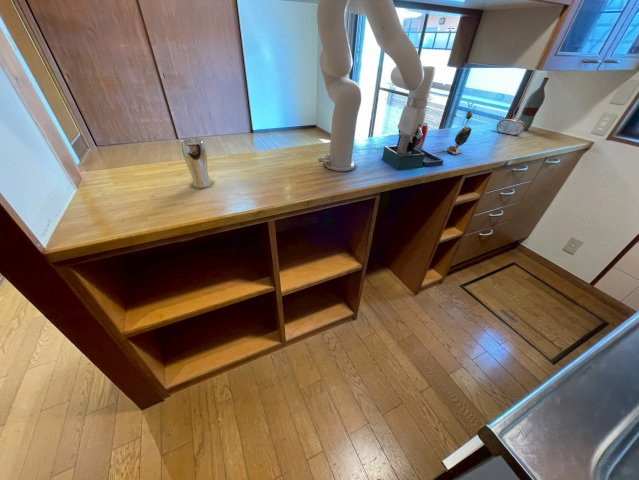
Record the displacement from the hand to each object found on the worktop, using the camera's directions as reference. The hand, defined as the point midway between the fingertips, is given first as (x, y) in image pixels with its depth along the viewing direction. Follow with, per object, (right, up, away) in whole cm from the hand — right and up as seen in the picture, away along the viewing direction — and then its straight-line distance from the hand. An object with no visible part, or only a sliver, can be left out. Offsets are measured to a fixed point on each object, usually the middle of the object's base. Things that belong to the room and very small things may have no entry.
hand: (405, 148), depth 114 cm
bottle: (+100, +36, +64) cm, 124 cm away
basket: (0, -5, +4) cm, 7 cm away
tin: (+82, +27, +52) cm, 101 cm away
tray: (+11, -3, +8) cm, 14 cm away
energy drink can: (0, -5, +4) cm, 7 cm away
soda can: (+12, +7, +21) cm, 25 cm away
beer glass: (-79, -21, -22) cm, 84 cm away
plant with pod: (+32, +5, +20) cm, 38 cm away
